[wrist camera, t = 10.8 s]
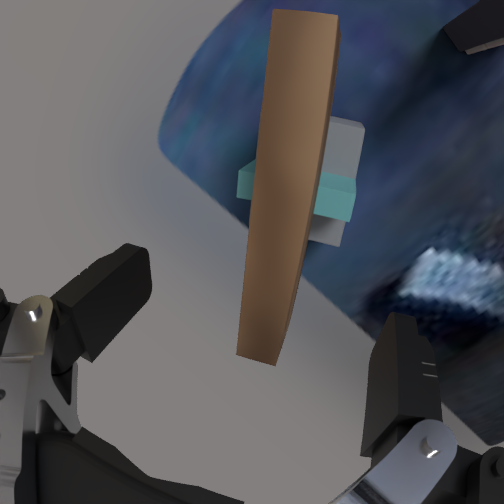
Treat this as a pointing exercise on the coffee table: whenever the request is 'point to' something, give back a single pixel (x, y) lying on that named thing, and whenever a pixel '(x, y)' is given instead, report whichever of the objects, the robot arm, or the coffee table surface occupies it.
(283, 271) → the walnut beam
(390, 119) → the coffee table surface
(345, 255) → the coffee table surface
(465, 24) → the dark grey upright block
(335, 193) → the balance stand
